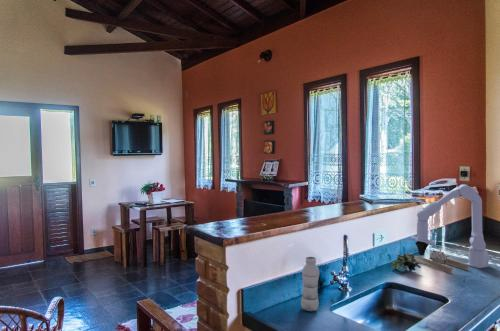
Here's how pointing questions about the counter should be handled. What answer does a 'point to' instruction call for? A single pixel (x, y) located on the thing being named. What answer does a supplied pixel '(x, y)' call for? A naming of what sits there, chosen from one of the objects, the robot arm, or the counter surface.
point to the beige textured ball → (439, 257)
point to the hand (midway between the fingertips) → (421, 255)
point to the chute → (442, 266)
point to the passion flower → (405, 262)
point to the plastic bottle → (310, 285)
